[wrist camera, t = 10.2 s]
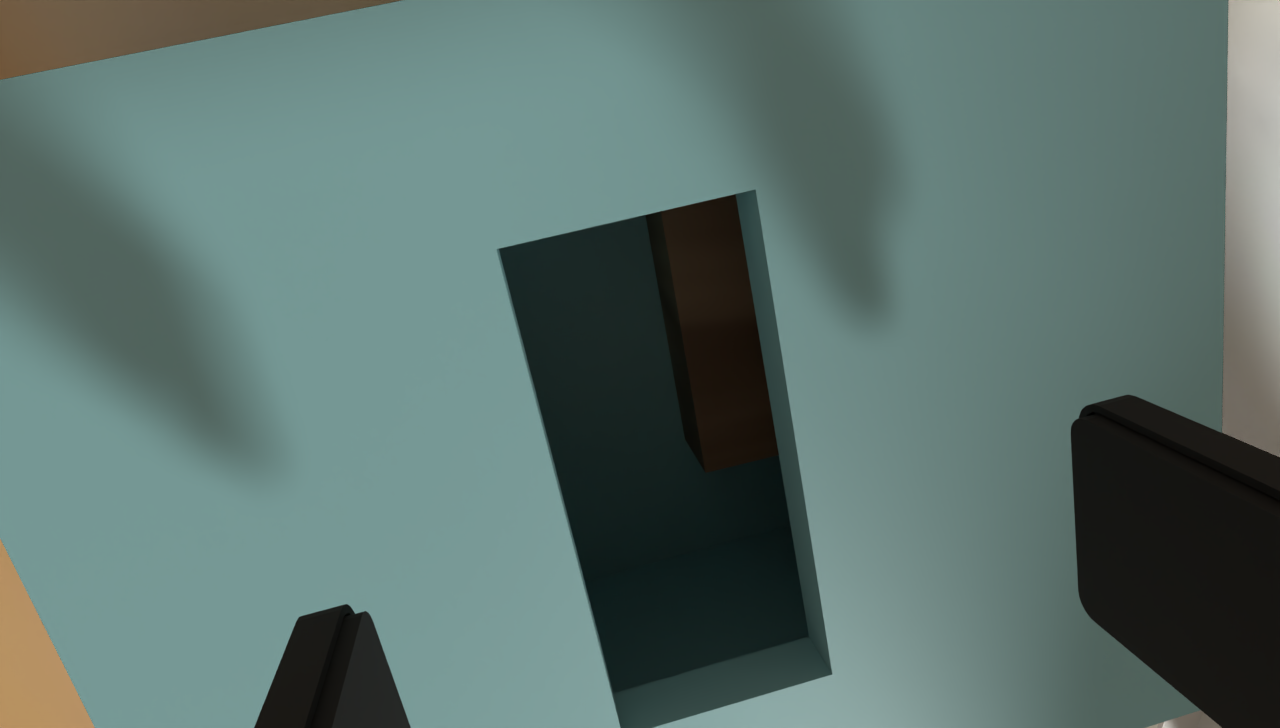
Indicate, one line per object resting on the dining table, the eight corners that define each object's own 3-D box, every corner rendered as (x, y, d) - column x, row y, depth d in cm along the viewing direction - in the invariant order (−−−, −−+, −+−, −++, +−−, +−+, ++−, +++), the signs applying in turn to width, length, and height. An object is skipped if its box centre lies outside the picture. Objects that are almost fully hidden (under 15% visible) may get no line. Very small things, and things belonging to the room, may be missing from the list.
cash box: (910, -41, 22) (1230, -164, 12) (961, 498, 27) (1218, 704, 17) (124, 120, 20) (-210, 121, 10) (334, 672, 25) (238, 1014, 15)
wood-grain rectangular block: (860, 147, 22) (883, 392, 24) (641, 192, 22) (684, 438, 24) (902, 151, 20) (924, 420, 22) (659, 201, 19) (705, 472, 21)
